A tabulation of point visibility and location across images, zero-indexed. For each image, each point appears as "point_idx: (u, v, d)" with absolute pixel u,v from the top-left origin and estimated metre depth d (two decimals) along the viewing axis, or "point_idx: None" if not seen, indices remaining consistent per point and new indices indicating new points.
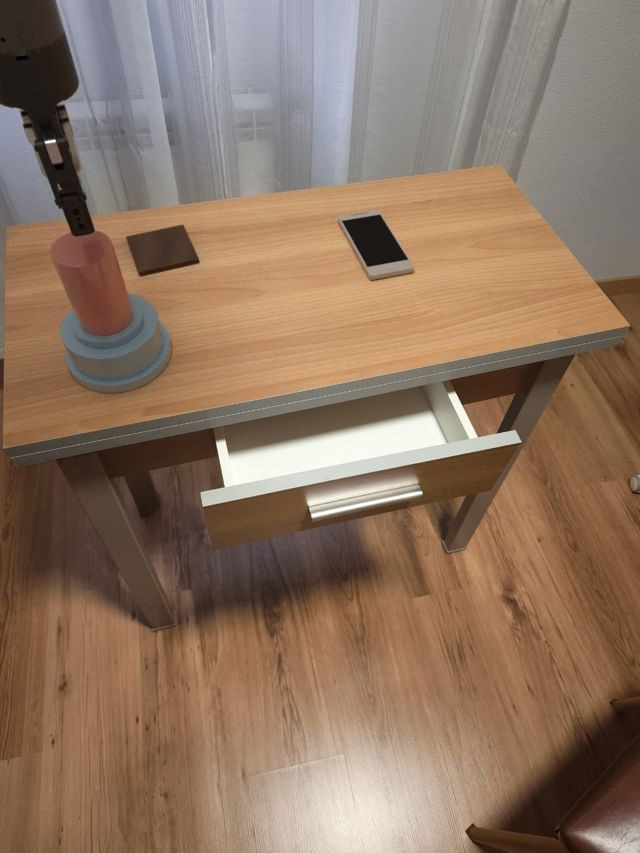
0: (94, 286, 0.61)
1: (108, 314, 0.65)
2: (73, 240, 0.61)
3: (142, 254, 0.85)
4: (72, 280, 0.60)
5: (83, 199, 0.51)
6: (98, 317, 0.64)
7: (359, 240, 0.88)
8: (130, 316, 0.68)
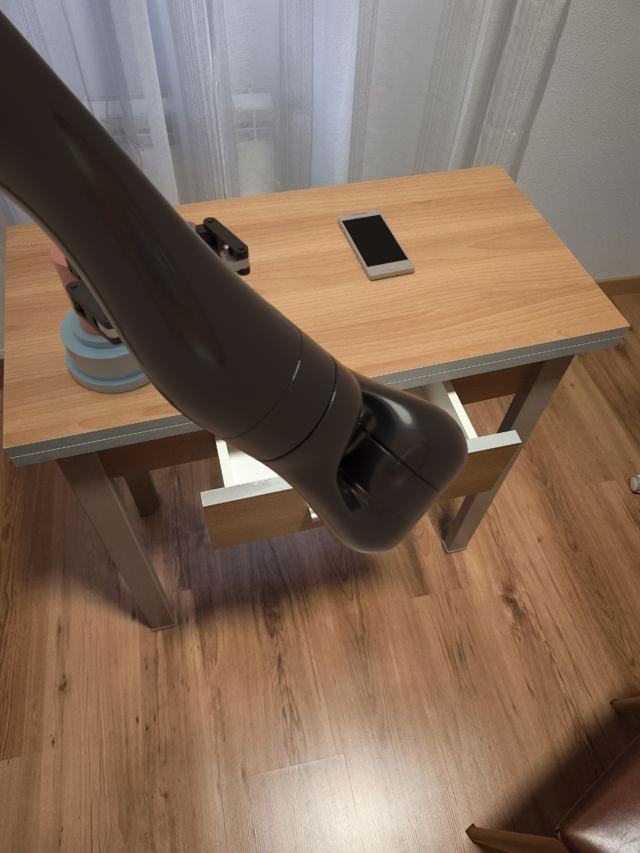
0: None
1: None
2: None
3: None
4: (72, 280, 0.60)
5: (77, 312, 0.46)
6: None
7: (359, 240, 0.88)
8: None
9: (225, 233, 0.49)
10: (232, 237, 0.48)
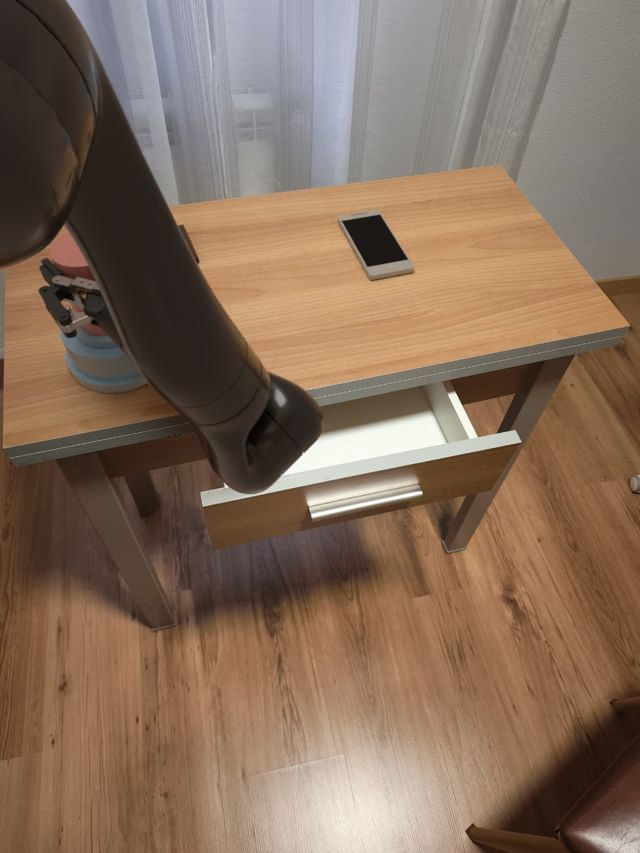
0: None
1: None
2: (73, 240, 0.61)
3: None
4: None
5: (47, 309, 0.59)
6: None
7: (359, 240, 0.88)
8: None
9: None
10: None
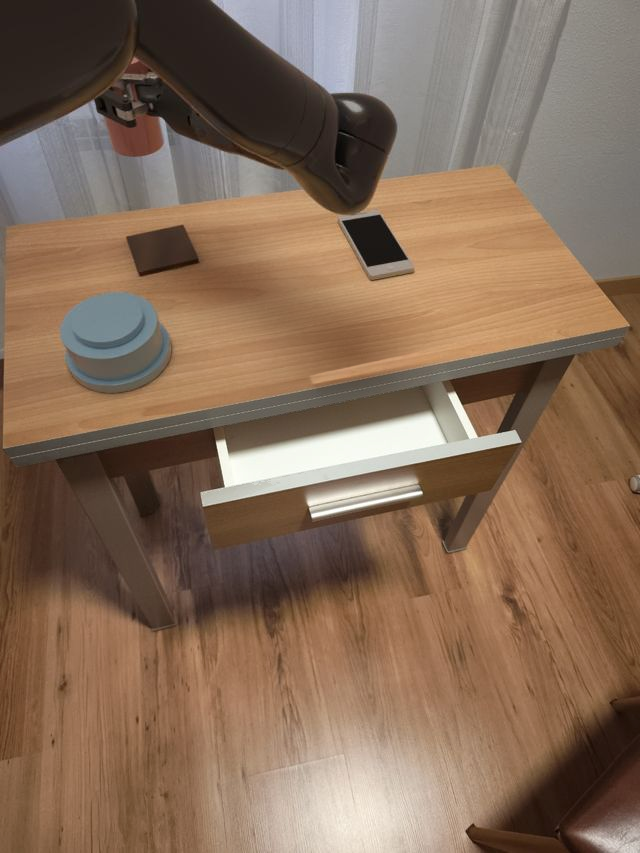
0: (135, 91, 0.64)
1: (147, 128, 0.67)
2: None
3: (142, 254, 0.85)
4: None
5: (98, 111, 0.61)
6: (137, 132, 0.67)
7: (359, 240, 0.88)
8: (162, 137, 0.70)
9: None
10: None
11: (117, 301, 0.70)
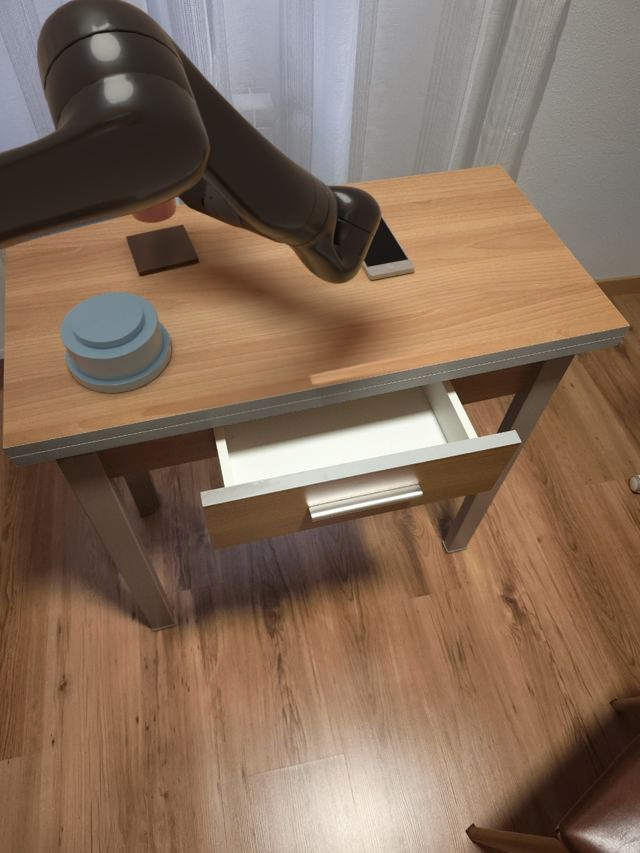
0: None
1: None
2: None
3: (142, 254, 0.85)
4: None
5: None
6: None
7: None
8: (175, 204, 0.80)
9: None
10: None
11: (117, 301, 0.70)
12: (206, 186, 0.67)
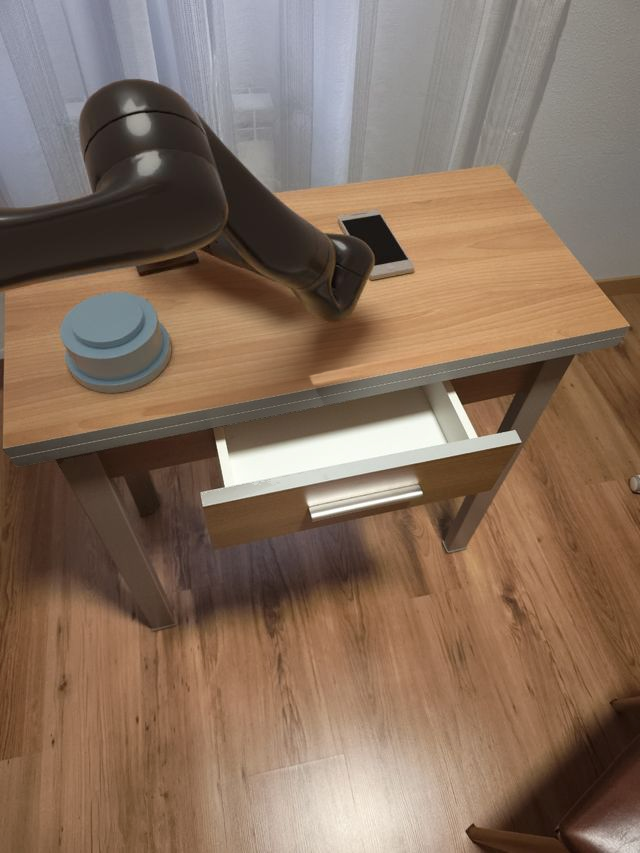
0: None
1: None
2: None
3: None
4: None
5: None
6: None
7: None
8: None
9: None
10: None
11: (117, 301, 0.70)
12: None
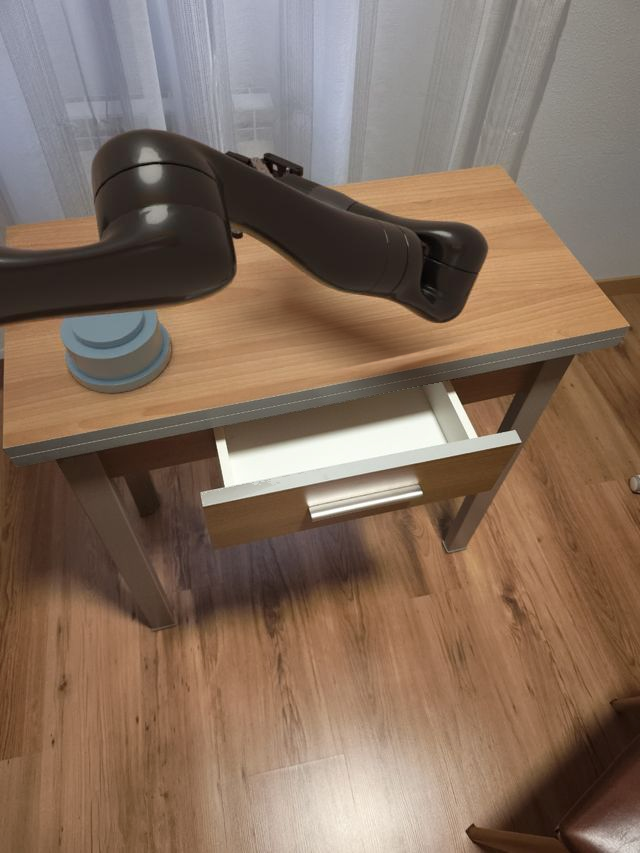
0: None
1: None
2: None
3: None
4: None
5: None
6: None
7: None
8: None
9: (282, 161, 0.70)
10: (289, 163, 0.70)
11: None
12: None
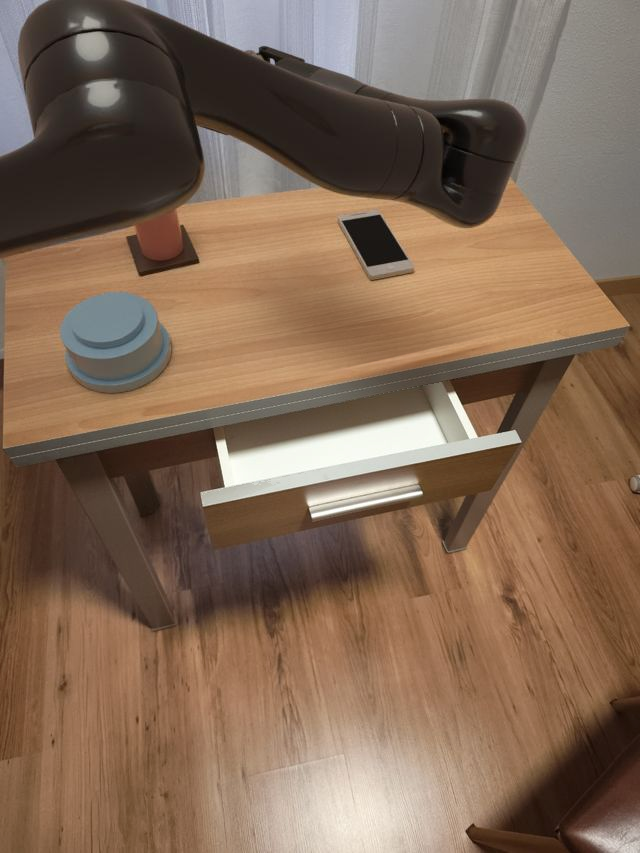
0: (163, 215, 0.79)
1: (171, 240, 0.82)
2: None
3: (142, 254, 0.85)
4: None
5: None
6: (164, 243, 0.82)
7: (359, 240, 0.88)
8: None
9: (281, 53, 0.61)
10: (288, 55, 0.60)
11: (117, 301, 0.70)
12: None
